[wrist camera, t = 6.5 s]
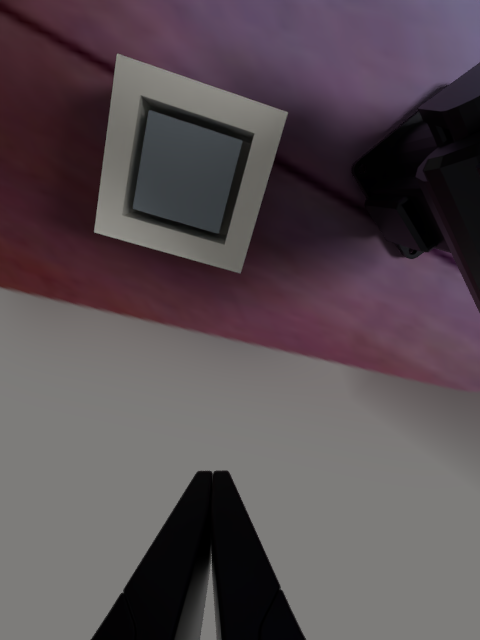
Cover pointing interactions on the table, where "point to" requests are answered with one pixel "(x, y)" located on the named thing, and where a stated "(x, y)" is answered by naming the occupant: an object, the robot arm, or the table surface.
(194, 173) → the button
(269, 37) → the table surface
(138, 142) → the switch box
